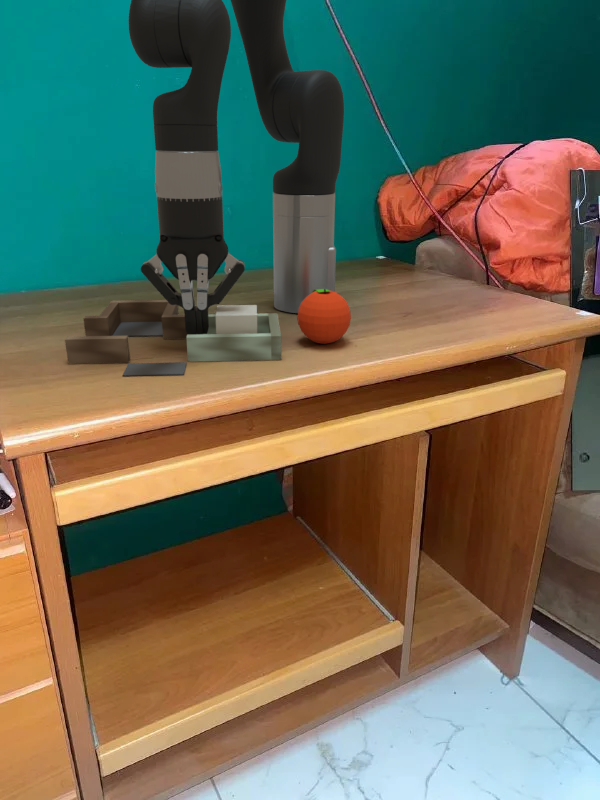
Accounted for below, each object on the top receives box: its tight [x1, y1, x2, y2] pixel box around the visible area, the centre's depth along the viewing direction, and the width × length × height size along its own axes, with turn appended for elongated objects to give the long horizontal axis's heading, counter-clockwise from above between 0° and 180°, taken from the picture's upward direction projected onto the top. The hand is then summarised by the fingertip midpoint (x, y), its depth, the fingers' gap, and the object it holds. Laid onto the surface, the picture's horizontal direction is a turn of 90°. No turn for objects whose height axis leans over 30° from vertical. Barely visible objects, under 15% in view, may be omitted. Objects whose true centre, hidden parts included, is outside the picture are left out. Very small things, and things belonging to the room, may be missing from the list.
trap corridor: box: [64, 299, 282, 377], centre depth 81 cm, size 25×23×3 cm
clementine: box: [297, 289, 352, 345], centre depth 82 cm, size 8×7×7 cm
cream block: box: [215, 304, 258, 334], centre depth 79 cm, size 5×5×5 cm
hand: (197, 336), depth 80 cm, fingers closed
